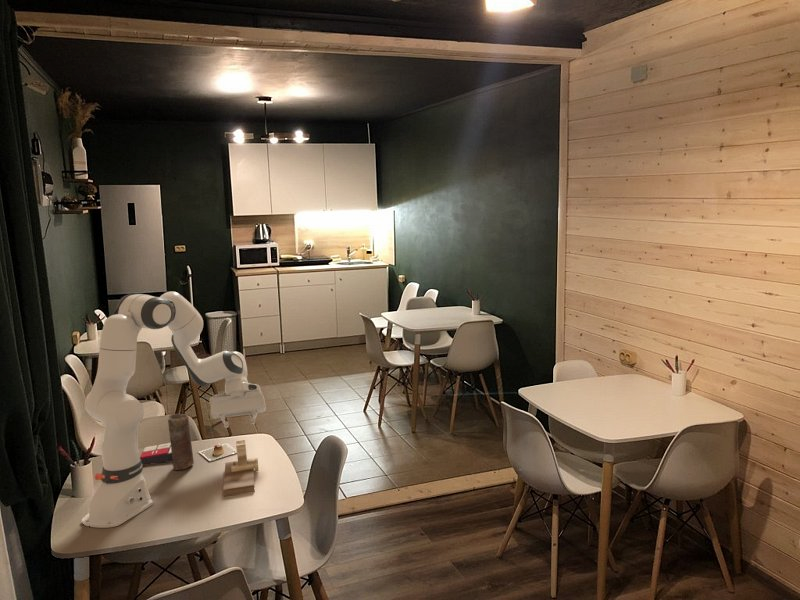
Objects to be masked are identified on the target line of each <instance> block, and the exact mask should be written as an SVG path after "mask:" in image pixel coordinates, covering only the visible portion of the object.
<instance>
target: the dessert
mask: <svg viewBox="0 0 800 600" xmlns="http://www.w3.org/2000/svg"><path fill="white" fill-rule="evenodd" d="M223 445H227V447H226V448H228V447H229V448H230V449H232V450H233V451H235V453H234V452H233V451H232V450H231V451H232V452H233V453H229V454H227V455H224V454H225V453H224V452H225V449H224V447H222V446H223ZM212 448H214V450H212V455H213V454H214V455H213V456H219V457H217V458H215V459H211V458H209V457H208V456H207V455H206V454H204V453H203V454H202V453H201V452H203V451H206V450H209V449H212ZM229 448H228V449H229ZM230 449H229V450H230ZM223 453H224V454H223ZM198 454H199V455H201V456H202V457H204V458H205V459H206V460H207V461H209V462H213V461H216V459H217V460H218V459H219V458H220V459H223V458H225V457H228V456H229V457H230V456H232V455H234V454H235V455H236V454H237V448H235V447H234V446H232V445H231V444H229V443H228V442H225V443H222V444H220V443H219V442H218V443H216V444H214V446H212V447H209V448H205V449H203V450H200V451H198ZM220 454H222V455H224V456H221V455H220ZM205 455H206V456H207V457H208V458H209V459H208V458H207V457H206V456H205ZM222 457H223V458H222Z"/></svg>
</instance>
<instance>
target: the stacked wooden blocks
mask: <svg viewBox="0 0 800 600" xmlns="http://www.w3.org/2000/svg"><path fill="white" fill-rule="evenodd" d="M235 443H236V444H235V446H236V448H235V449H236V450H237V453H236V454H237V455H236V456H237V460H235V462H233V461H231V462H232V465H231V471H232V472H235V471H242V470H248V469H254V473H255V472H259V461H258V457H256V458H248V456H247V455H248V454H247V448H246V447H247V446H246V440H245V439H244V440H243V439H242V440H238V441H237V440H236V442H235ZM247 459H248V460H247Z"/></svg>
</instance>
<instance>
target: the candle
mask: <svg viewBox="0 0 800 600" xmlns="http://www.w3.org/2000/svg"><path fill="white" fill-rule="evenodd" d="M167 423H168V431H169V440H170V442H169V443H171V452H172V460H173V461H172V466H173V467H172V469H173V470H174V471H178V470H186V469H187V468H189V467H191V466H192V465H193V464H194V463H195V461H194V454H193V445H192V444H193V443H192V438H191V437H192V436H191V429H190V420H189V416H188V414H185V413H173V414H170V415H169V416H168V417H167Z"/></svg>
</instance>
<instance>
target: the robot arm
mask: <svg viewBox="0 0 800 600" xmlns="http://www.w3.org/2000/svg"><path fill="white" fill-rule="evenodd" d="M166 327H168V329H170V332H171V333H172V335H171V339H170V340H171V343H172V344H171V345H172V347H173V348H174V349H175V352H176V353H177V355H178V357H179V358H180V360H181V361H182V363H183V364H184V367H186V369H187V371H188V373H189V376H190V378H191V380H192V381H193V383H194V384H196V385H197V386H201V387H207V386H209V385H212V384H213V383H215V382H218V381H220V380H223V379H224V380H225V382H224V393H219V394H213V395H211V396H210V397H209V405H210V417H211V418H212V419H215V420H217V419H220V420H221V422H222V423H223V427H224V428H225V429H226V428H230V426H229V421H226V418H228V417H229V418H230V417H237V416H244V415H245V416H246V415H251V414H252V417H251V418H249V419H250V425H255V423H256V422H255V420H256V418H257V416H258V414H259V413H265V411H266V410H267V405H266V400H265V397H264V394H263V392H262V389H261V386H260V385H259V384H255V383H251V382H249V380H248V376H249V375H248V366H247V361H246V358H245V356H244V354H243V353H241V352H239V351H231V350H223V351H220V352H218V353H215V354H212V355H211V356H208V357H205V358H198V357H197V355H196V354H195V351H194V350H193V348H192V347H191V344H192V343H193V342H195V341H196V340H197V339H198V338H199V336H200V335H201V333H202V331H203V328H204V320H203V317H202V315H201V314H200V312H199V311H198V310H197V308H195V306H193V304H192V303H191V302H189V301H188V300H187V298H185V297H184V296H183V295H182V294H180V293H179V292H176V291H166V292H164V293H163V294H161V295H160V296H153V295H150V294H144V293H129V294H126V295H123V296H122V297H121V298H120V299H119V301H118V302H117V304H116V307H115V310H114V311H113V314H112V315H110V316H108V317H107V318H106V319H105V321H104V323H103V327H102V331H101V335H100V341H99V350H98V351H99V352H98V360H97V361H98V362H97V363H98V364H97V371H96V376H95V379H94V381H93V382H94V383H93V385H92V388H91V391H89V393H88V394H87V395H86V398H85V400H84V409H85V410H86V412H87V414H88V415H90V417H91V418H93V419H94V420H96V421H98V422H101V423H102V425H103V426H104V427H103V428H104V433H103V434H104V435H103V440H102V441H101V443H100V453H101V458H102V464H103V466H102V470H101V473H95V474H94V480H95V481H101V482H100V483H99V485H98V486H97V488H96V490H95V492H94V493H93V495H92V496H91V498H90V499H89V501H88V513H87V514H86V515H85V516H83V517H82V518H81V524H82V523H83V524H84V526H86V527H89V526H90V527H91V528H101V529H106V528H114V527H117V526H118V527H119V526H120V525H122V524H123V523H125V522H127V521H128V520H131V519H132V518H133V517H135V516H137V515H138V514H140V513H142V512H143V511H145V510H147V509H148V508H150V507H151V506H153V505H154V502H153V500H152V497H151V495H150V492H149V489H148V484H147V481H146V479H145V477H144V474H143V465H142V461H141V459H140V452H139V443H138V430H139V424H141V421H142V420H143V417H144V414H145V409H144V408H145V407H144V406H143V404H142V403H141V402H140V401H139V400H138V399H137V398H136V397H135V396H133V395H131V394H129V393H127V387H128V384H129V382H130V379H131V378H132V377H133V376H134V374H135V372H136V364H137V363H136V362H137V351H138V350H137V349H138V335H139V333H140V332H141V330H142V329H150V330H160V329H164V328H166ZM83 524H82V525H83Z"/></svg>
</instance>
